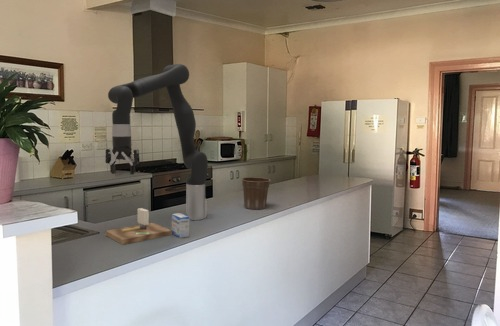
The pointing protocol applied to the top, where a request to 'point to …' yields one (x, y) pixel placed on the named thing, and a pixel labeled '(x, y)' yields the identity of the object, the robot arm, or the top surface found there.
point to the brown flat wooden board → (138, 233)
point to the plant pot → (255, 192)
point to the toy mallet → (141, 219)
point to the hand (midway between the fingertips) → (122, 173)
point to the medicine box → (180, 225)
